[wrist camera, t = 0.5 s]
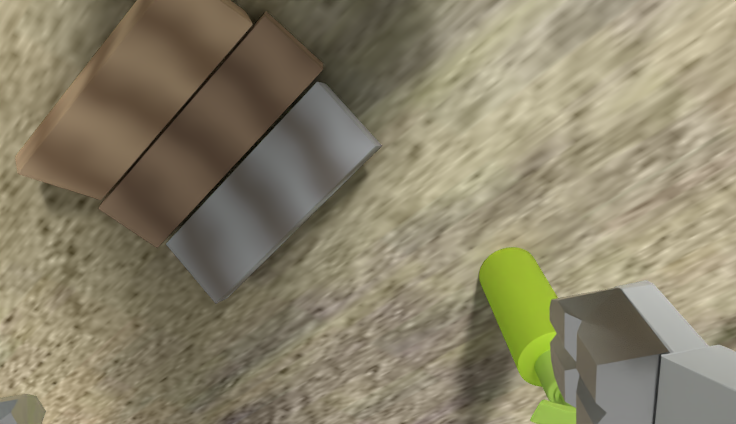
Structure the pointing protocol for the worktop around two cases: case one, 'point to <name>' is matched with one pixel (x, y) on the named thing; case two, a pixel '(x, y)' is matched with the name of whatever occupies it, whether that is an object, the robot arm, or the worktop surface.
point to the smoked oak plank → (130, 92)
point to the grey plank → (273, 192)
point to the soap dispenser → (526, 324)
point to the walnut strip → (213, 131)
